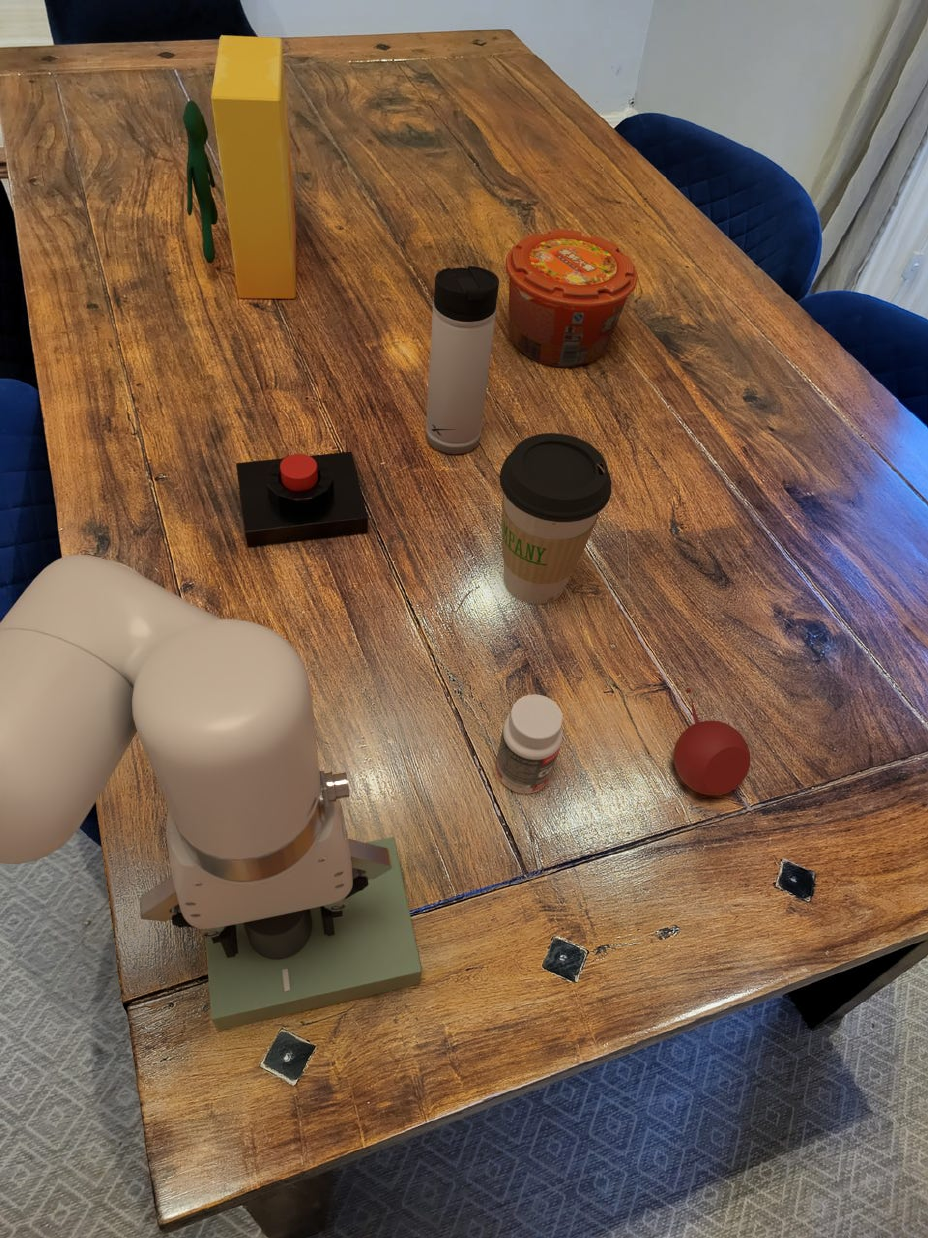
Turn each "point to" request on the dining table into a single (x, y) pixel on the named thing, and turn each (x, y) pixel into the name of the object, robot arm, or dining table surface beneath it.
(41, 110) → the dining table surface
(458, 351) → the travel mug
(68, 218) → the dining table surface
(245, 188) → the toys
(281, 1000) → the panel
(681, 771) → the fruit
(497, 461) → the dining table surface
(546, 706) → the pill bottle
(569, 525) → the coffee cup
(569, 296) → the food container
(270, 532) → the switch block
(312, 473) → the button
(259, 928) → the knob
